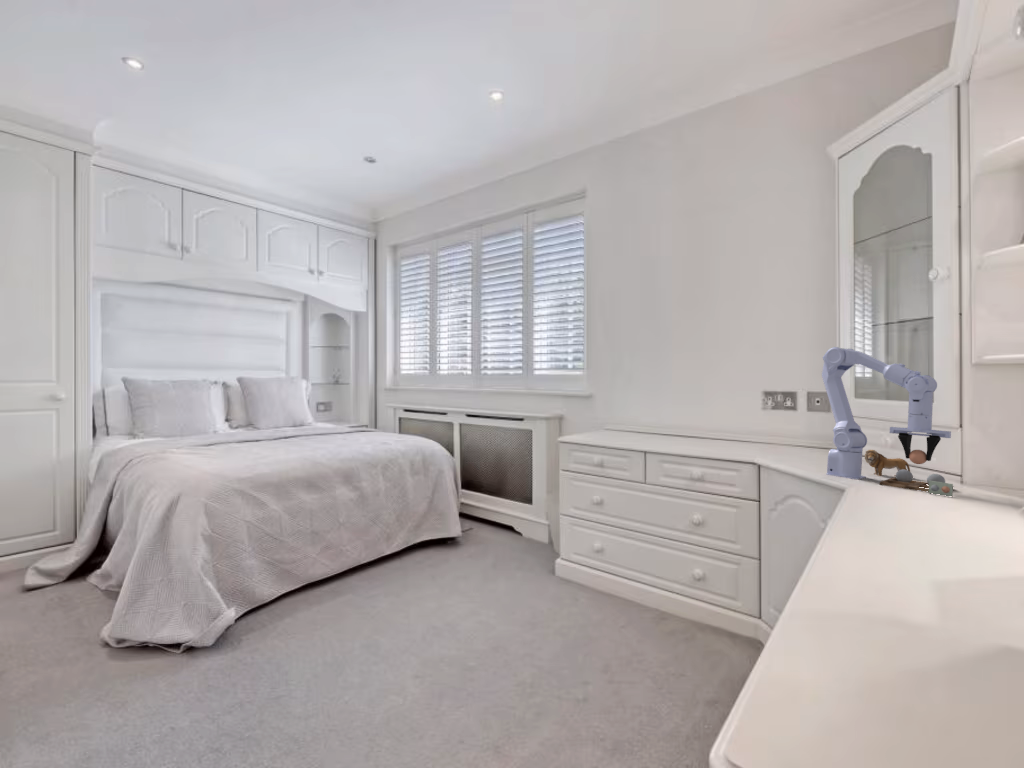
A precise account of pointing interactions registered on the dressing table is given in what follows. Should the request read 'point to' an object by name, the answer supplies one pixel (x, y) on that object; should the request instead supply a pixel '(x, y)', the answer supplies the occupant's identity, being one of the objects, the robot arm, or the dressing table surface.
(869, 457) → the lion figurine
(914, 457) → the terracotta ball
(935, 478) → the grey ball right
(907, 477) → the grey ball left
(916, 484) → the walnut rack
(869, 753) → the dressing table surface
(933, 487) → the card
